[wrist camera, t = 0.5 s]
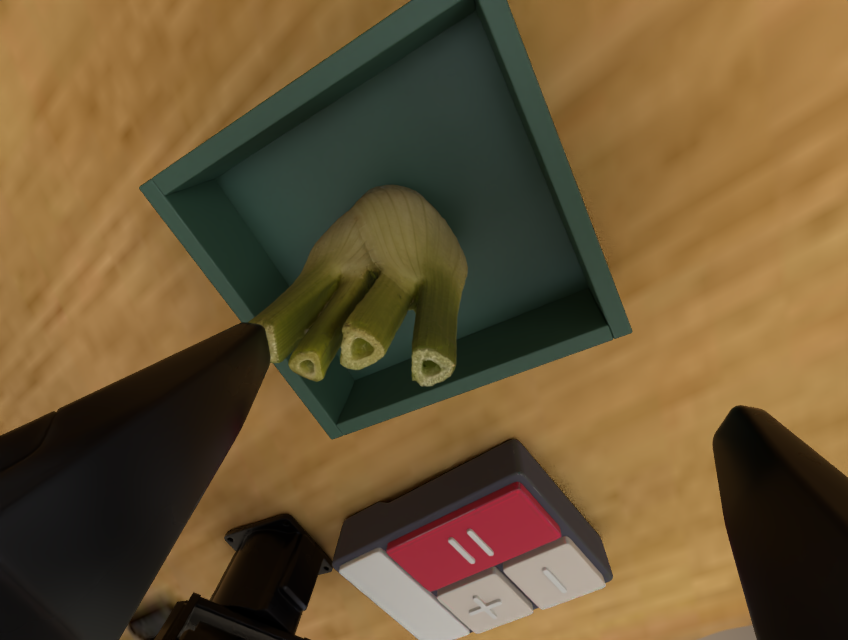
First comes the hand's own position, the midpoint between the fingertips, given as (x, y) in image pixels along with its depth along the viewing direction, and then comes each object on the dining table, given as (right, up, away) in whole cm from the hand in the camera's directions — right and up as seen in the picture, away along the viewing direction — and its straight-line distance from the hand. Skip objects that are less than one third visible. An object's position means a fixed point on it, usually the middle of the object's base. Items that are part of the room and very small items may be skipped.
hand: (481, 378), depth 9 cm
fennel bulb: (-2, +6, +14) cm, 15 cm away
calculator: (+2, -14, +23) cm, 27 cm away
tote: (-2, +6, +14) cm, 15 cm away
